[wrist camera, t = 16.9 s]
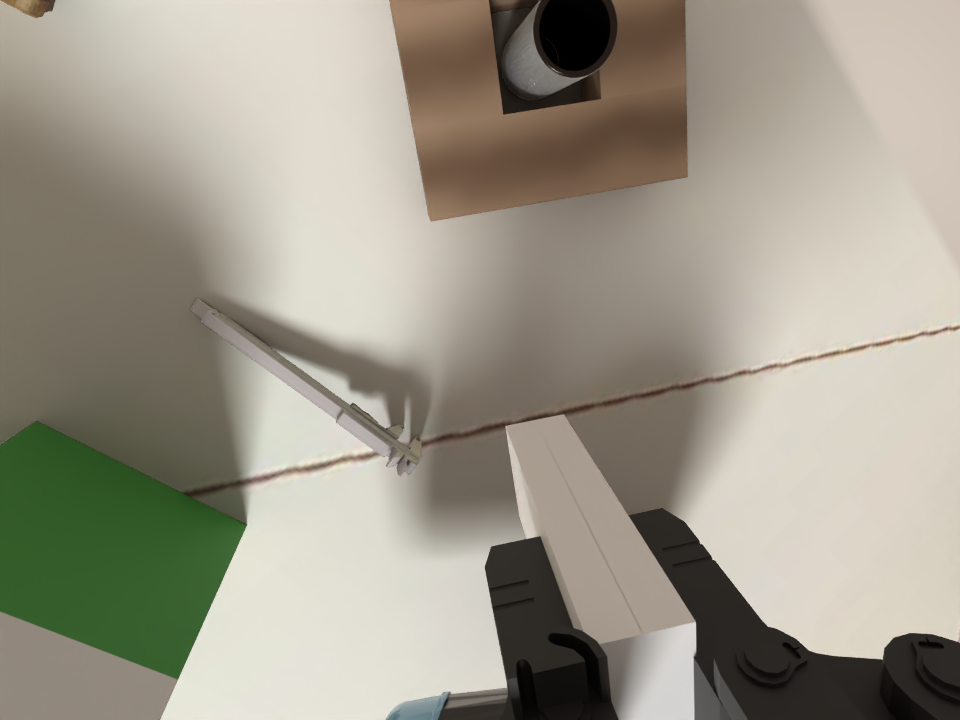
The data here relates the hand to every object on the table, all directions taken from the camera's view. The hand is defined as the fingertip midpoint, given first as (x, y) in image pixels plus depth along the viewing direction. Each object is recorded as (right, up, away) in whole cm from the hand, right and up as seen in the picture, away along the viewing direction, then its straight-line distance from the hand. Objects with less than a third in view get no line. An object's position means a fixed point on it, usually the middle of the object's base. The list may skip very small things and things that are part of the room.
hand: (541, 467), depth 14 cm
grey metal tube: (+2, +23, +24) cm, 33 cm away
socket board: (+2, +23, +23) cm, 33 cm away
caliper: (-15, +1, +29) cm, 33 cm away
